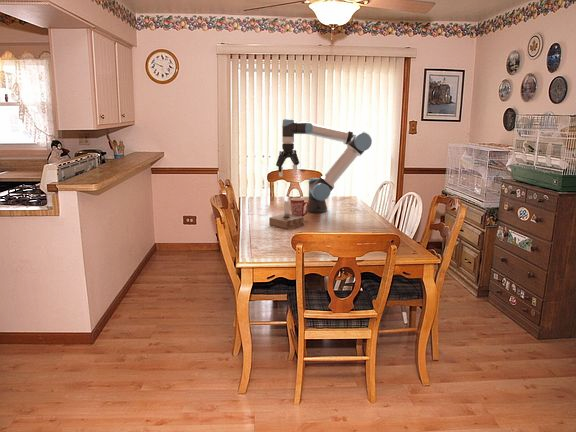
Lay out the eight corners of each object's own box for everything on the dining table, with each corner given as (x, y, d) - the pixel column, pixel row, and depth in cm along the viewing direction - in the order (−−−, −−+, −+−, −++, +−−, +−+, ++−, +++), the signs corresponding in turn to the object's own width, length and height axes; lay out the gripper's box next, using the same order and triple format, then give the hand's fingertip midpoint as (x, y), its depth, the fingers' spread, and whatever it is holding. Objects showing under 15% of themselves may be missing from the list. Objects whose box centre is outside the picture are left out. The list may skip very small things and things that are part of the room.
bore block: (287, 221, 302) (287, 213, 301) (303, 225, 292) (303, 217, 291) (269, 225, 290) (269, 217, 289) (286, 229, 281) (286, 221, 280)
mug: (288, 220, 303) (289, 199, 300) (292, 217, 312) (292, 197, 309) (308, 221, 300) (308, 201, 297) (310, 218, 309) (311, 198, 306)
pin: (286, 222, 293) (286, 200, 290) (290, 223, 291) (290, 201, 288) (282, 223, 291) (283, 201, 288) (286, 224, 289) (287, 202, 286)
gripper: (296, 141, 319) (295, 173, 324) (270, 143, 301) (270, 176, 306) (304, 142, 314) (304, 174, 319) (279, 144, 296) (279, 178, 301)
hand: (287, 175), depth 313 cm, fingers open, 13 cm apart
